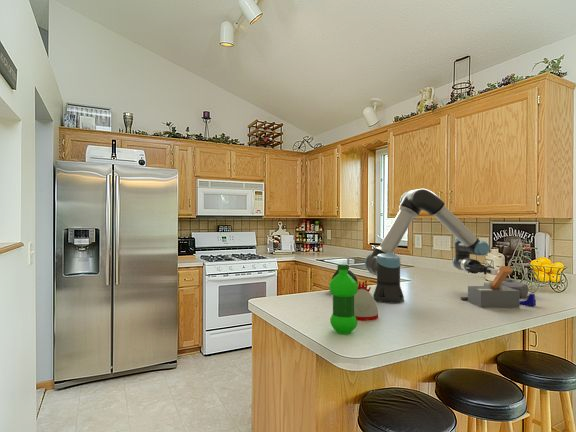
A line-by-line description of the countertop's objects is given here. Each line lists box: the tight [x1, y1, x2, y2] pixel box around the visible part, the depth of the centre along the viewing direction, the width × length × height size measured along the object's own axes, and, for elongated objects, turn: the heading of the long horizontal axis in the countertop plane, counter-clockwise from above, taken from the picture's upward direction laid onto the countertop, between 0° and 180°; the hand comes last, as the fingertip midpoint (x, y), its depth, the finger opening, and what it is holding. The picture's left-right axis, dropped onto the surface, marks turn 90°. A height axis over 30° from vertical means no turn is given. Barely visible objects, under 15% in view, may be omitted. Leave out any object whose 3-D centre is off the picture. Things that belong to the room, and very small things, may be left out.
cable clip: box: [520, 293, 537, 308], centre depth 169 cm, size 12×4×6 cm, turn 40°
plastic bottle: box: [328, 263, 359, 335], centre depth 126 cm, size 10×10×25 cm
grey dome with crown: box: [354, 281, 379, 322], centre depth 147 cm, size 14×14×15 cm
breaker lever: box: [491, 265, 513, 289], centre depth 161 cm, size 4×3×15 cm
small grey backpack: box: [487, 279, 529, 299], centre depth 190 cm, size 15×8×20 cm
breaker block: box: [467, 282, 521, 309], centre depth 166 cm, size 18×12×10 cm, turn 89°
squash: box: [330, 268, 359, 286], centre depth 198 cm, size 14×15×15 cm
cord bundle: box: [460, 296, 468, 301], centre depth 176 cm, size 21×3×1 cm, turn 89°
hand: (496, 272), depth 164 cm, fingers closed
